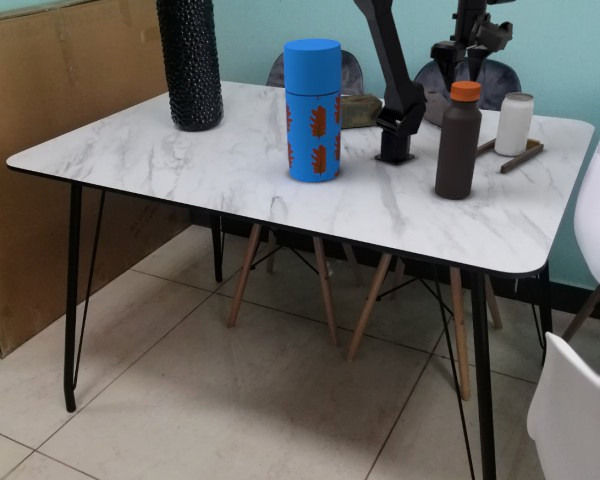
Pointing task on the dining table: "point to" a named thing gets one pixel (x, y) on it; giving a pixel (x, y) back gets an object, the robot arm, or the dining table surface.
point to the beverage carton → (359, 110)
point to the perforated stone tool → (435, 106)
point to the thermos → (313, 108)
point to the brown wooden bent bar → (533, 150)
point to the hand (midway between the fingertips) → (461, 87)
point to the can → (514, 124)
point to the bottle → (459, 141)
